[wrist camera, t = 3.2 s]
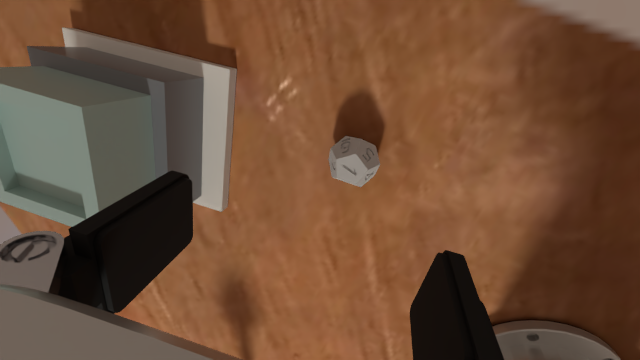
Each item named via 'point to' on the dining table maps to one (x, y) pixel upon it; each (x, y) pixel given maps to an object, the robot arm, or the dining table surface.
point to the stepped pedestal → (111, 125)
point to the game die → (353, 161)
